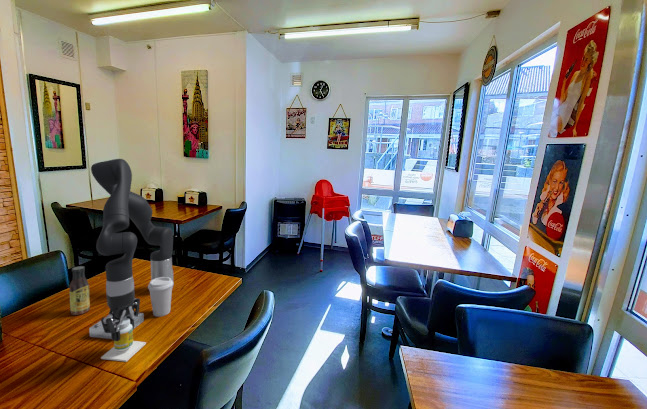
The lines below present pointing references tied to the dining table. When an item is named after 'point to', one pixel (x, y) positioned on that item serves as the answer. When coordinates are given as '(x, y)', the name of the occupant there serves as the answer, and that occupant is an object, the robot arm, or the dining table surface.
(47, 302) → the dining table surface
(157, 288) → the coffee cup
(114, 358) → the mat
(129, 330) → the supplement bottle
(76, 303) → the sauce bottle
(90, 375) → the dining table surface
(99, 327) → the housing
